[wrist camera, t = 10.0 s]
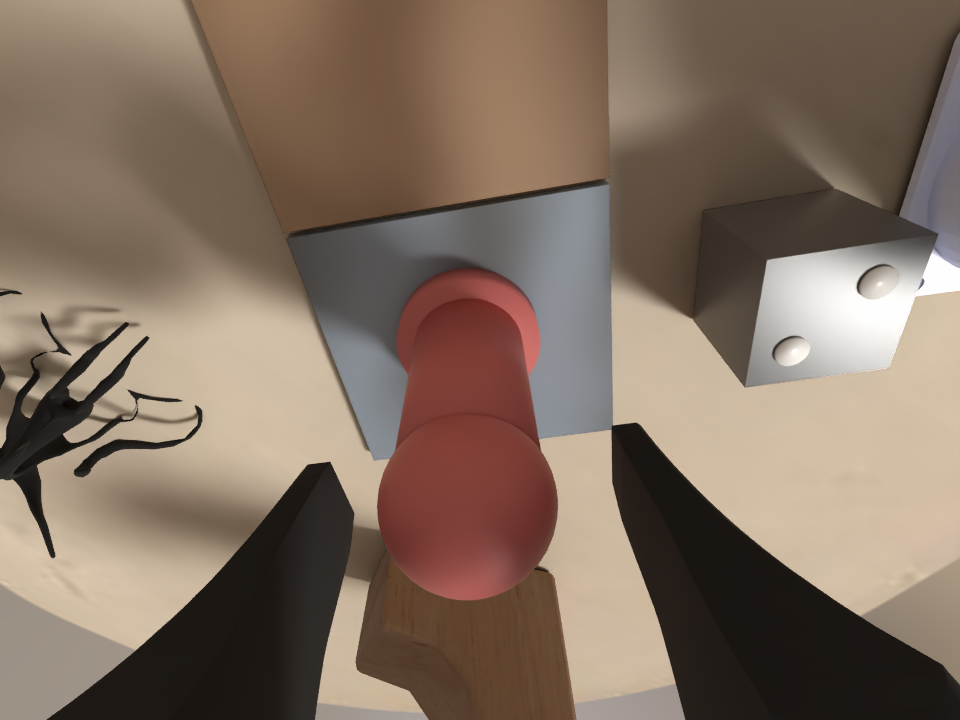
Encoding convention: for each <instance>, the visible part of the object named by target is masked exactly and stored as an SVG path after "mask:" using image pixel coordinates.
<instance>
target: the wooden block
mask: <svg viewBox="0 0 960 720" xmlns="http://www.w3.org/2000/svg"><path fill="white" fill-rule="evenodd" d="M356 667H357V670H358V671H359V672H361V673H363V674H366V675H368V676H371V677H374V678H376V679H379V680H382V681H384V682H387V683H390V684H392V685H395V686H398V687H400V688H403V689H406V690H408V691H410V693H411V694H412V695H413V697H414V698H415V700H416V701H417V703H418V704H419V706H420V707H421V709H422V710H423V712H424V713H425V715H426V716H427V717H428V719H429V720H576V714H575V707H574V701H573V694H572V688H571V681H570V675H569V668H568V662H567V655H566V649H565V643H564V636H563V630H562V623H561V617H560V611H559V604H558V598H557V591H556V585H555V579H554V577H553V575H552V574H550V573H549V572H544V571H540V570H536V569H534V570H533V571H532V572H531V573H530V574H529V575H528V576H527V577H526V578H525V579H524V580H523V581H521V582H520V583H518V584H517V585H515V586H514V587H512V588H511V589H509V590H507V591H505V592H503V593H501V594H498V595H495V596H492V597H489V598H485V599H479V600H455V599H449V598H445V597H442V596H439V595H436V594H433V593H431V592H429V591H427V590H425V589H423V588H422V587H420V586H419V585H417V584H416V583H414V582H413V581H412V580H410V579H409V578H408V577H407V576H406V575H405V574H404V573H403V572H402V571H401V570H400V569H399V567H398V566H397V565H396V563H395V562H394V560H393V559H392V557H391V556H390V554H389V552H388V550H386V552H385V554H384V556H383V558H382V560H381V562H380V565H379V567H378V569H377V571H376V573H375V575H374V577H373V579H372V581H371V583H370V585H369V590H368V596H367V601H366V607H365V612H364V618H363V623H362V629H361V634H360V640H359V645H358V651H357V656H356Z"/></svg>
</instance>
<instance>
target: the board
mask: <svg viewBox="0 0 960 720" xmlns="http://www.w3.org/2000/svg"><path fill="white" fill-rule="evenodd" d="M191 1H192V4H193V6H194V9H195V11H196V14H197V16H198V19H199V21H200V24H201V26H202V29H203V31H204V34H205V36H206V39H207V41H208V44H209V46H210V49H211V51H212V54H213V56H214V59H215V62H216V64H217V67H218V69H219V72H220V74H221V77H222V79H223V82H224V84H225V87H226V89H227V92H228V94H229V97H230V99H231V102H232V104H233V107H234V109H235V112H236V114H237V117H238V119H239V122H240V124H241V127H242V130H243V132H244V135H245V137H246V140H247V142H248V145H249V147H250V150H251V152H252V155H253V157H254V160H255V162H256V165H257V167H258V170H259V172H260V175H261V177H262V180H263V182H264V185H265V187H266V190H267V192H268V195H269V198H270V200H271V203H272V205H273V208H274V210H275V213H276V215H277V218H278V220H279V223H280V225H281V228H282V230H283V233H285V232H291V231H297V230H303V229H308V228H314V227H320V226H326V225H332V224H338V223H344V222H350V221H356V220H362V219H368V218H373V217H379V216H385V215H391V214H397V213H403V212H409V211H415V210H421V209H427V208H433V207H438V206H444V205H450V204H456V203H462V202H468V201H474V200H480V199H486V198H492V197H498V196H503V195H509V194H515V193H521V192H527V191H533V190H539V189H545V188H551V187H557V186H563V185H568V184H574V183H580V182H586V181H592V180H598V179H604V178H609V116H608V47H607V0H191ZM286 240H287V243H288V245H289V248H290V250H291V253H292V255H293V258H294V260H295V263H296V266H297V268H298V271H299V273H300V276H301V278H302V281H303V283H304V286H305V288H306V291H307V293H308V296H309V298H310V301H311V303H312V306H313V308H314V311H315V313H316V316H317V318H318V321H319V323H320V326H321V328H322V331H323V334H324V336H325V339H326V341H327V344H328V346H329V349H330V351H331V354H332V356H333V359H334V361H335V364H336V366H337V369H338V371H339V374H340V376H341V379H342V381H343V384H344V386H345V389H346V391H347V394H348V396H349V399H350V402H351V404H352V407H353V409H354V412H355V414H356V417H357V419H358V422H359V424H360V427H361V429H362V432H363V434H364V437H365V439H366V442H367V444H368V447H369V449H370V452H371V454H372V457H373V459H374V461H375V460H382V459H390V458H391V456H392V455H393V453H394V452H395V448H396V443H397V437H398V431H399V426H400V420H401V414H402V409H403V403H404V398H405V392H406V386H407V381H408V374H407V373H406V371H405V369H404V368H403V366H402V364H401V361H400V359H399V356H398V351H397V342H396V341H397V332H398V328H399V323H400V319H401V315H402V311H403V308H404V306H405V304H406V302H407V300H408V299H409V297H410V295H411V294H412V293H413V292H414V291H415V289H416V288H418V287H419V286H420V285H421V284H422V283H423V282H425V281H426V280H428V279H429V278H431V277H433V276H435V275H437V274H439V273H442V272H445V271H448V270H453V269H458V268H478V269H485V270H488V271H492V272H495V273H497V274H500V275H502V276H504V277H506V278H507V279H509V280H511V281H512V282H513V283H515V284H516V285H517V286H518V287H519V288H520V289H521V290H522V291H523V292H524V293H525V294H526V296H527V297H528V299H529V300H530V302H531V304H532V306H533V309H534V312H535V315H536V319H537V323H538V328H539V333H540V351H539V355H538V359H537V362H536V364H535V366H534V368H533V370H532V371H531V373H530V374H529V375H528V377H529V383H530V389H531V395H532V401H533V407H534V413H535V419H536V425H537V431H538V437H539V439H543V438H550V437H558V436H565V435H573V434H581V433H588V432H596V431H604V430H611V429H612V426H613V395H612V325H611V256H610V186H609V183H608V182H607V181H603V182H597V183H592V184H586V185H580V186H574V187H568V188H562V189H556V190H550V191H544V192H538V193H532V194H526V195H520V196H515V197H509V198H503V199H497V200H491V201H485V202H479V203H473V204H467V205H461V206H455V207H449V208H443V209H438V210H432V211H426V212H420V213H414V214H408V215H402V216H396V217H390V218H384V219H378V220H372V221H366V222H361V223H355V224H349V225H343V226H337V227H331V228H325V229H319V230H313V231H307V232H301V233H295V234H290V235H289V236H288V237H287V238H286Z"/></svg>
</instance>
